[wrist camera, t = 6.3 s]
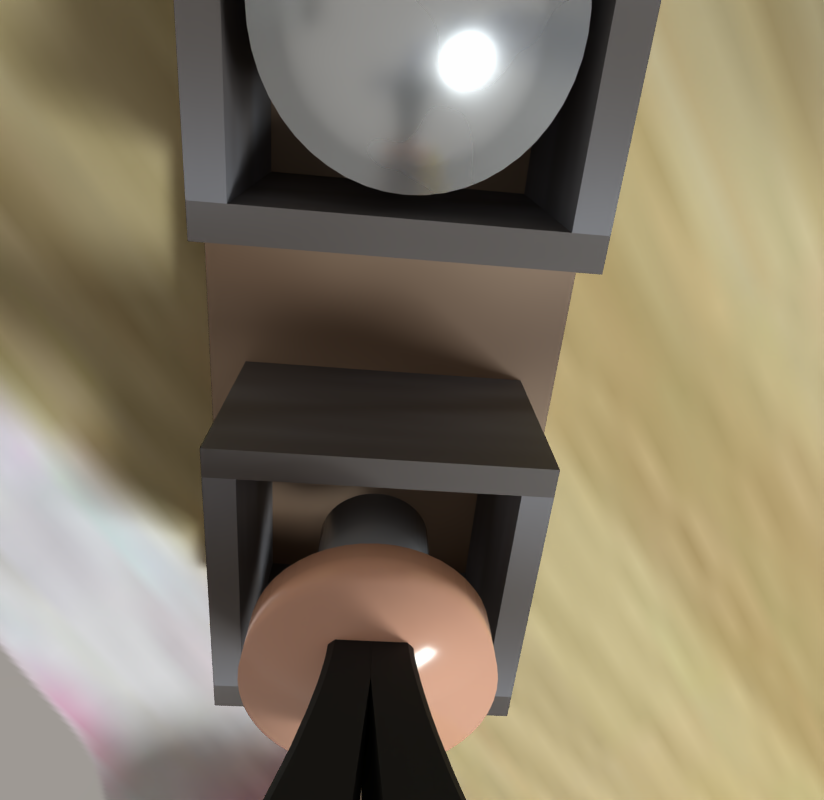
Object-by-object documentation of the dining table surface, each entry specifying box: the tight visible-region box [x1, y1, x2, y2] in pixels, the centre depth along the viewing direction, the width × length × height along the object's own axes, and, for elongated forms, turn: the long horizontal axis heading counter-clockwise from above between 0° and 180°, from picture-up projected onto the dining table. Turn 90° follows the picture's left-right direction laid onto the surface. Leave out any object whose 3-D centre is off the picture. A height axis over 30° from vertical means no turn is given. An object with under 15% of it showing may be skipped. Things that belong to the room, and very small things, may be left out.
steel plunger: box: [245, 0, 592, 195], centre depth 10 cm, size 4×4×4 cm
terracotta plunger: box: [237, 494, 498, 752], centre depth 13 cm, size 4×4×4 cm
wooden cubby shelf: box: [174, 0, 661, 716], centre depth 13 cm, size 18×8×5 cm, turn 175°
